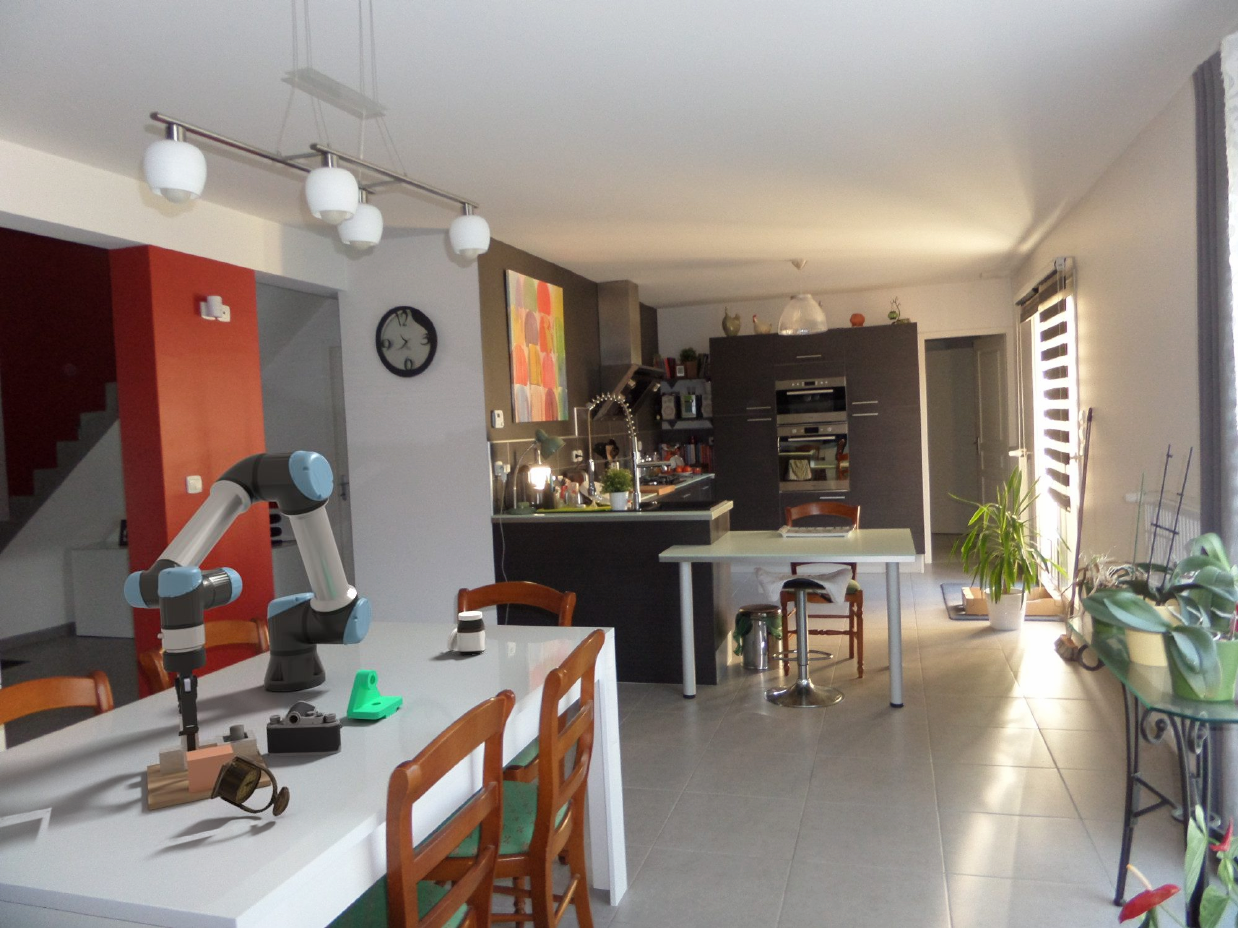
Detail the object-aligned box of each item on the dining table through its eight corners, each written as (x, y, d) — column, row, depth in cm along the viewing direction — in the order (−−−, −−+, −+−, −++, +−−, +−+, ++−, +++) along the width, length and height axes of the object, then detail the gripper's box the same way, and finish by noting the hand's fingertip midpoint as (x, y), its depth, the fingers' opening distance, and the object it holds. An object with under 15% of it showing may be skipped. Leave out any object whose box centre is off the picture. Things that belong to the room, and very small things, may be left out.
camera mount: (377, 724, 201) (375, 678, 201) (347, 722, 203) (344, 676, 203) (404, 707, 213) (402, 664, 212) (375, 706, 215) (373, 663, 214)
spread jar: (482, 657, 258) (480, 616, 258) (442, 658, 258) (440, 617, 258) (489, 647, 270) (487, 608, 270) (451, 648, 270) (449, 609, 270)
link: (160, 777, 171) (159, 756, 170) (159, 766, 177) (158, 745, 177) (257, 758, 179) (256, 738, 178) (253, 748, 185) (252, 729, 185)
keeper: (187, 783, 167) (186, 751, 167) (232, 774, 170) (230, 743, 170) (189, 793, 162) (187, 760, 162) (235, 783, 166) (233, 752, 165)
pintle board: (147, 770, 177) (145, 735, 177) (257, 750, 187) (255, 716, 186) (148, 809, 158) (146, 770, 158) (271, 784, 167) (269, 747, 167)
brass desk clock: (224, 807, 158) (220, 750, 157) (300, 801, 159) (296, 744, 158) (209, 824, 151) (205, 764, 150) (288, 818, 152) (285, 759, 151)
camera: (353, 740, 190) (351, 693, 190) (338, 754, 182) (336, 705, 182) (281, 742, 191) (278, 695, 191) (263, 756, 183) (260, 707, 183)
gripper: (160, 638, 185) (166, 742, 185) (163, 664, 163) (171, 781, 163) (201, 633, 188) (207, 735, 189) (209, 657, 166) (216, 772, 167)
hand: (190, 756), depth 176 cm, fingers open, 13 cm apart
